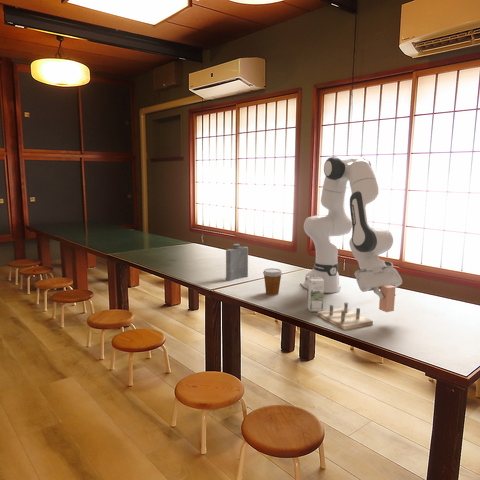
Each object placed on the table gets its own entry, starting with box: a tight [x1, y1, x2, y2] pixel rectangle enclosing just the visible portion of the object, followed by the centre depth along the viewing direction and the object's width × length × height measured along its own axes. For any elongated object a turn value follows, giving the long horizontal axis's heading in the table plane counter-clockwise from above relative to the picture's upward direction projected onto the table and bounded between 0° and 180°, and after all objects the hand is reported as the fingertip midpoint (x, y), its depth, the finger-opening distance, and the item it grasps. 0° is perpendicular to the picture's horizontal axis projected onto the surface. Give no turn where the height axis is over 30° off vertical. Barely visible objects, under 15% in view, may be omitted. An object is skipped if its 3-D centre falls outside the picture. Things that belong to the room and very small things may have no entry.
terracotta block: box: [378, 285, 396, 313], centre depth 163 cm, size 4×4×10 cm
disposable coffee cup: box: [262, 267, 283, 296], centre depth 204 cm, size 10×10×12 cm
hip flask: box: [225, 243, 249, 282], centre depth 233 cm, size 16×4×20 cm, turn 133°
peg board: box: [316, 302, 374, 331], centre depth 168 cm, size 18×14×6 cm
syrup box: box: [307, 277, 325, 313], centre depth 179 cm, size 6×6×14 cm
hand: (388, 297), depth 163 cm, fingers closed on terracotta block, 4 cm apart
